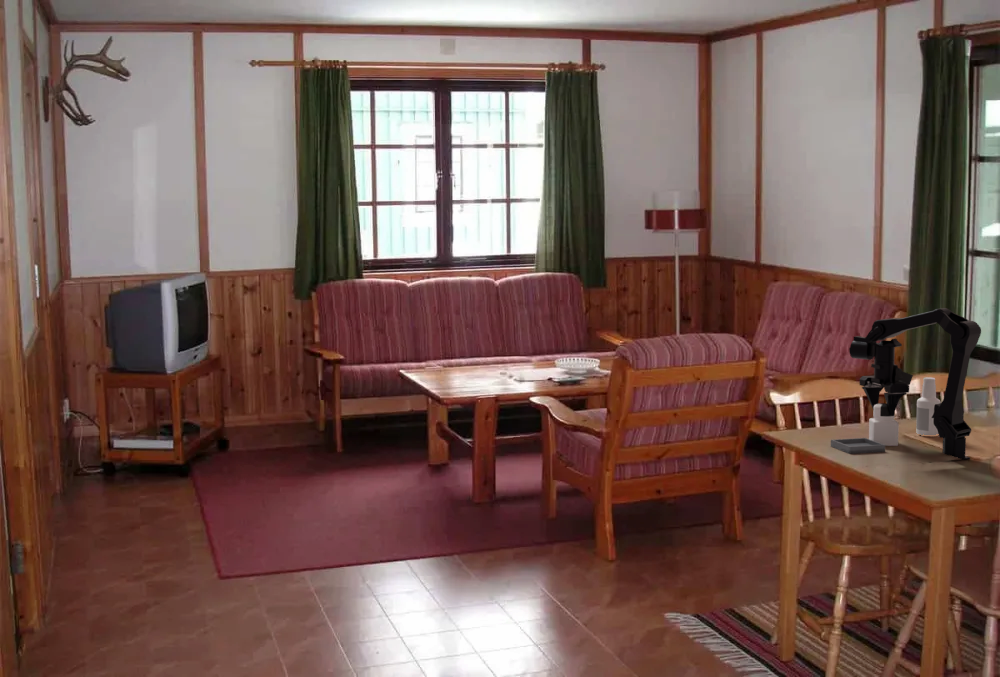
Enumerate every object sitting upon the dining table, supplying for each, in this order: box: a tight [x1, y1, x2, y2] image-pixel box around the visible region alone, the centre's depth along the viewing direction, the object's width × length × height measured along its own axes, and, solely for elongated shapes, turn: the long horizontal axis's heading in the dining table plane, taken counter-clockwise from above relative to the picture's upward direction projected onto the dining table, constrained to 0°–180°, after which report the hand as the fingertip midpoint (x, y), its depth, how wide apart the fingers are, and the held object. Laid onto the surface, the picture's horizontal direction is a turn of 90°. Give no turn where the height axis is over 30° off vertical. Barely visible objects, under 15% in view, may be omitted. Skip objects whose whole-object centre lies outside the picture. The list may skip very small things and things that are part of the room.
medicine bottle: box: [868, 402, 900, 447], centre depth 355 cm, size 7×7×12 cm
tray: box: [830, 437, 886, 454], centre depth 348 cm, size 11×11×2 cm
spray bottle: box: [915, 376, 942, 435], centre depth 366 cm, size 7×7×18 cm
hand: (883, 412), depth 356 cm, fingers open, 9 cm apart
